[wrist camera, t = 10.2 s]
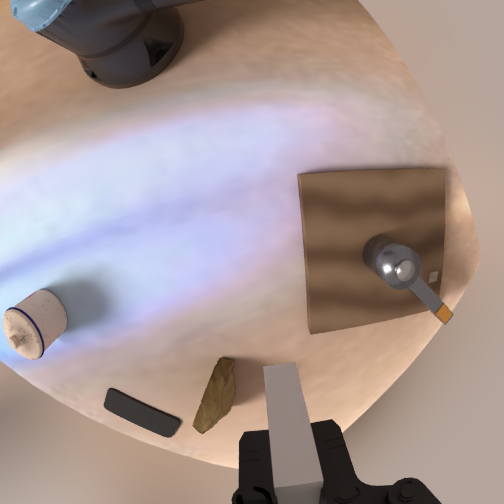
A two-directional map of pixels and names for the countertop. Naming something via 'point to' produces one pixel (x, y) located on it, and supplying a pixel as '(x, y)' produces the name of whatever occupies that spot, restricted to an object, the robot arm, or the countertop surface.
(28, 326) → the cream lidded jar
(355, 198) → the base board
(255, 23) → the countertop surface
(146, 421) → the phone
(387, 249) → the grey mallet
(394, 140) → the countertop surface
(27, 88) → the countertop surface
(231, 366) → the rock
